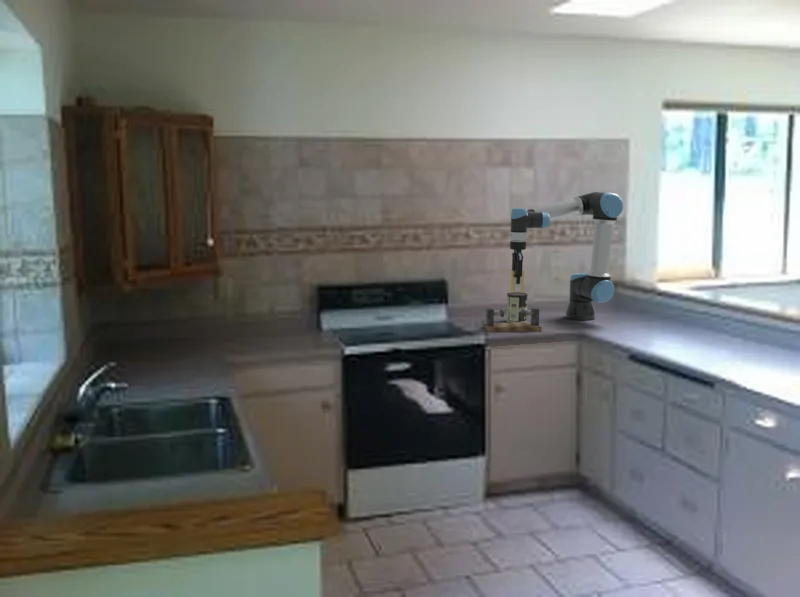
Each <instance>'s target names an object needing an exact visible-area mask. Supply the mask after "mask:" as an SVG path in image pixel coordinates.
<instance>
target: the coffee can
mask: <svg viewBox="0 0 800 597" xmlns="http://www.w3.org/2000/svg"><path fill="white" fill-rule="evenodd" d="M528 295H529V294H528V293H526V292H507V293H506V323H528V315H525V317H522V316H521V309H522V308H525V310H528Z"/></svg>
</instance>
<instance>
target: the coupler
mask: <svg viewBox="0 0 800 597" xmlns="http://www.w3.org/2000/svg"><path fill="white" fill-rule="evenodd" d="M514 276H516V270H512V269H510V270H509V280H508V281H509V282H508V283H509V284H508V291H509V293H511V292H521V293H524V285H525V270H523V269H522V276H521V288H520V291H514V289H515V277H514Z"/></svg>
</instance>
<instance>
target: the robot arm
mask: <svg viewBox="0 0 800 597" xmlns="http://www.w3.org/2000/svg"><path fill="white" fill-rule="evenodd" d="M623 209H624V202H623V200H622V198H621V196H620V195H618V194H617V193H613V192H603V191H600V192H599V191H594V192H593V191H592V192H589V193H585V194H581V195H578V196H574V197H573V198H572V199H570V200H569V199H568V200H565V201H561V202H556V203H552V204H551V203H550V204H547V205H543V206H538V207H533V208H531V209H528V208H523V207H521V208H519V207H516V208H515V207H514V208H512V209H511V213H510V234H508V235H509V238H510V239H509V240H510V242H509V249H510V250H513V252H512V253H511V256H512V257H511V260H512V261H511V262H512V263H511V264H512V265H511V270H516V276H514V277H515V289H514V291H520V288H521V276H522V270H523V266H524V265H523V264H524V261H523V260H524V255H523V253H522V251H523V250H524V251H525V250H526V249H527V234H528V232H527V229H546V228H548V227H550V224H551V221H552V220H557V219H560V218H567V217H569V216H585V215H587V216H588V215H589V216H592V220H593V222H594V224H595V225H594V234H593V241H592V253H591V254H592V255H591V264H590V271H589V272H587V273H572V274H571V275H570V279H569V302H568V305H567V308H566V311H565V316H564V317H565V318H567V319H568V320H569V319H570V320H577V321H589V320H591V321H592V320H595V319H596V311H595V307H594V304H593V302H594V303H599V304H601V303H602V304H604V303H607V302H608V301H609V300H610V299H612V297H613V296H614V293H615V285H614V284H613V282H612V281H611V280H612V279H611V278H612V276H611V274H610V273H609V268H610V260H611V259H610V258H611V257H610V256H611V249H612V238H613V232H614V231H613V230H614V224H615V223H616V222H617V221H618V217H620V215H621V214H622V212H623Z"/></svg>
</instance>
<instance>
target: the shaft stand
mask: <svg viewBox="0 0 800 597" xmlns="http://www.w3.org/2000/svg"><path fill="white" fill-rule="evenodd" d="M525 315H527V316H530V322H525V323H510V322H494V321H495V320H494V318H495V317H494V316H500V317H501V318H504V317H505V309H504V308H500V309H499V310H498V309H497V310H496V309H494V308H493V307H486V308H485V322H483V328H484V330H487V331H486V332H492V333H494V332H501V333H502V332H542V328H543V327H542V325H540V308H539V307H531V309H527V310H525V308H522V309H521V316H522V317H525Z"/></svg>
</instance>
